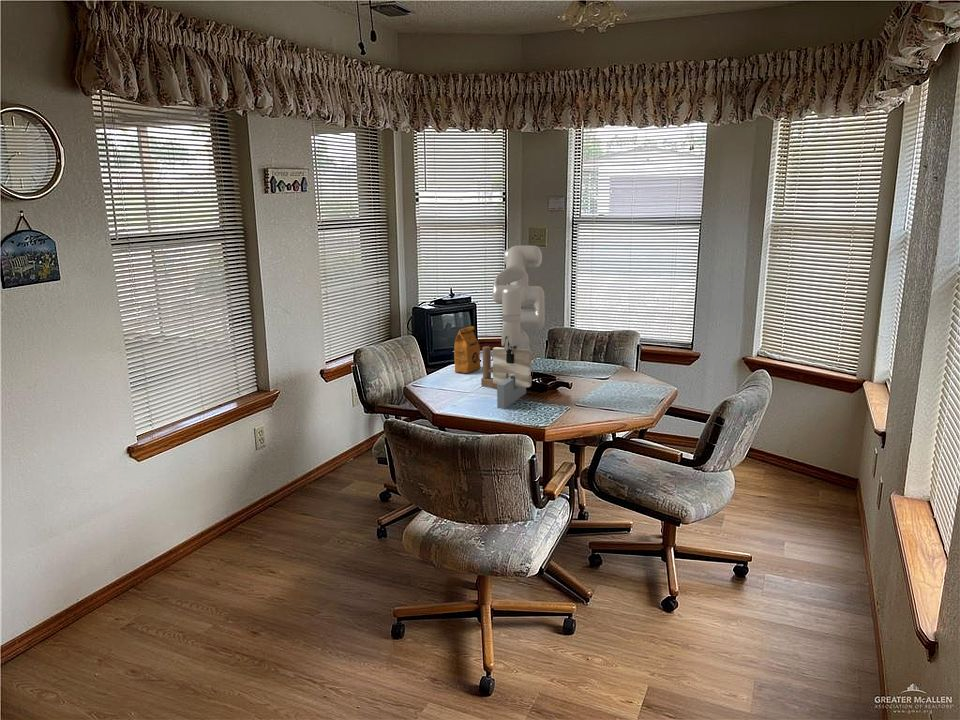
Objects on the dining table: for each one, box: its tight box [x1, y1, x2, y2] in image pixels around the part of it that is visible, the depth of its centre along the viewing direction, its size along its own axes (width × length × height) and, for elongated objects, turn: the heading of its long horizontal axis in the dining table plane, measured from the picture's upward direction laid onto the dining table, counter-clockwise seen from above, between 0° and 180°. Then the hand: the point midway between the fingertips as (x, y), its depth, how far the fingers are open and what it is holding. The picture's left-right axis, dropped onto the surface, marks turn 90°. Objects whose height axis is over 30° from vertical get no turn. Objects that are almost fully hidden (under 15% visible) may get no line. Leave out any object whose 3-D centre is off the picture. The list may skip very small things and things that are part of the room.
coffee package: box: [453, 325, 481, 374], centre depth 328 cm, size 10×12×22 cm
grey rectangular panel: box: [496, 374, 527, 410], centre depth 281 cm, size 24×3×10 cm, turn 155°
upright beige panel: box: [492, 346, 532, 388], centre depth 278 cm, size 3×16×15 cm, turn 65°
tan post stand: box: [480, 345, 497, 390], centre depth 301 cm, size 4×11×18 cm, turn 52°
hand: (511, 361), depth 278 cm, fingers closed on upright beige panel, 3 cm apart
